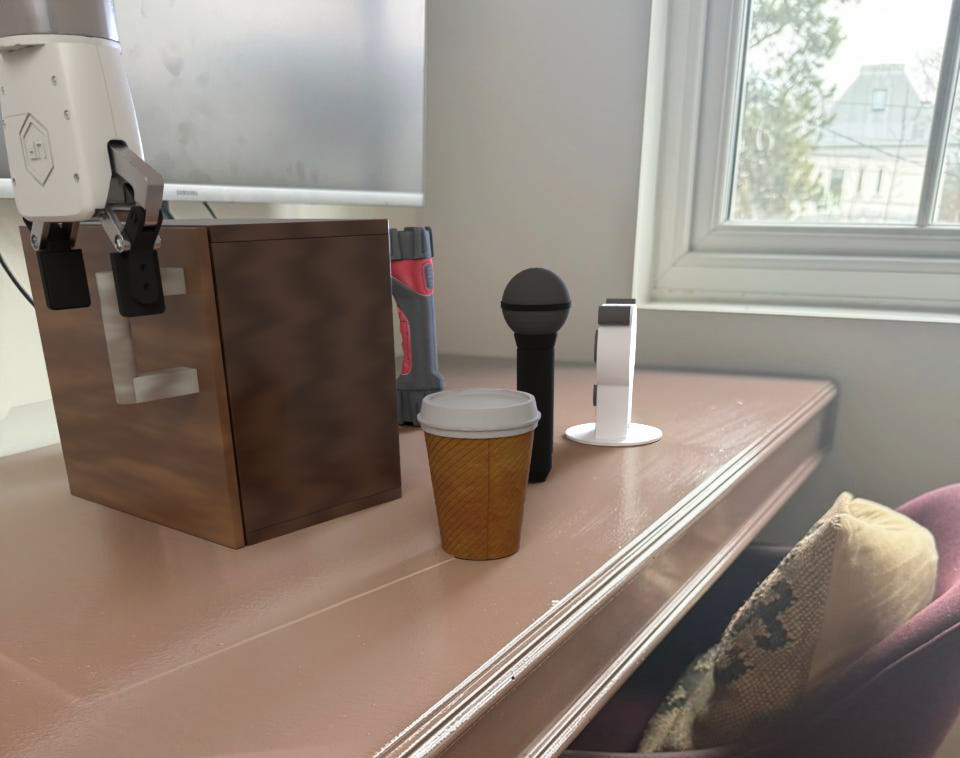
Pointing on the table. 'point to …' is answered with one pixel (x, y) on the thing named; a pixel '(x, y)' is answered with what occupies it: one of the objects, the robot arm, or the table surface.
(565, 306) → the microphone
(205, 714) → the table surface
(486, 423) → the disposable coffee cup
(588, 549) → the table surface
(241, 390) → the cupboard
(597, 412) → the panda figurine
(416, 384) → the flashlight
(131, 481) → the cupboard door
